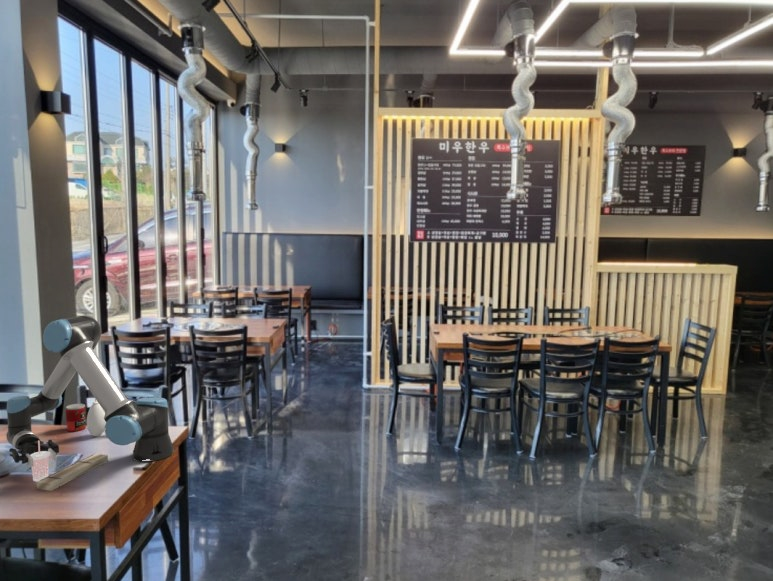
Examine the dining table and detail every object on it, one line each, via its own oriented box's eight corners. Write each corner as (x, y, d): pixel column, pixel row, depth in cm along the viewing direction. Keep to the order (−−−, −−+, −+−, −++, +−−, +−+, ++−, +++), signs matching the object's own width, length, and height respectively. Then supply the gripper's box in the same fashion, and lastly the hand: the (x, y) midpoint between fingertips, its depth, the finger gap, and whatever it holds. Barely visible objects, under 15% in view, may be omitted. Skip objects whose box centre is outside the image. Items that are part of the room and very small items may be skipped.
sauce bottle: (85, 435, 234) (83, 396, 233) (104, 431, 240) (102, 392, 238) (89, 440, 229) (88, 399, 227) (109, 435, 234) (107, 396, 233)
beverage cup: (43, 473, 192) (41, 436, 191) (54, 476, 190) (52, 438, 189) (26, 480, 187) (24, 442, 185) (38, 483, 184) (36, 444, 183)
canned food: (77, 432, 238) (76, 408, 237) (62, 431, 240) (61, 407, 239) (90, 427, 246) (89, 404, 245) (75, 425, 247) (74, 403, 247)
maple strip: (107, 461, 206) (107, 454, 206) (51, 490, 181) (50, 483, 180) (95, 459, 207) (94, 453, 207) (37, 488, 182) (36, 481, 182)
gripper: (55, 445, 207) (74, 462, 191) (-4, 460, 193) (11, 478, 177) (54, 427, 206) (73, 442, 191) (-5, 440, 193) (10, 457, 177)
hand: (43, 459), depth 184 cm, fingers closed on beverage cup, 6 cm apart
